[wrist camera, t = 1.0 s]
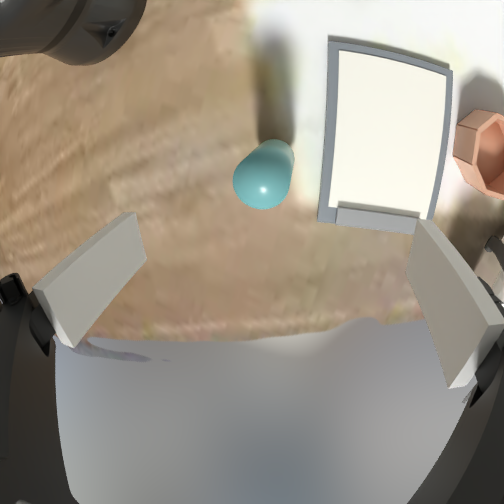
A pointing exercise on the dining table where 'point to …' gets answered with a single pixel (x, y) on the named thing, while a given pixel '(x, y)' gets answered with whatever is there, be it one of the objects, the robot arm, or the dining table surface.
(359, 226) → the clipboard
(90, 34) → the robot arm
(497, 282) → the giant panda
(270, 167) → the teal cylinder
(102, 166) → the dining table surface
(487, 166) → the terracotta octagonal bowl
